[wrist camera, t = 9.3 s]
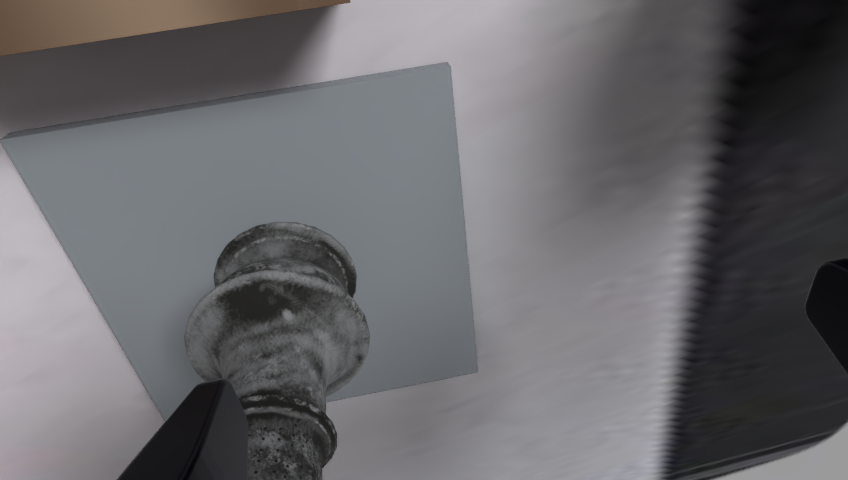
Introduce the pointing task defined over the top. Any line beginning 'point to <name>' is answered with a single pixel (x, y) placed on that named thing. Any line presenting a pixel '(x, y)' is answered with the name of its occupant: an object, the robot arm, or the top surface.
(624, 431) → the top surface
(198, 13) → the brown wooden u-shaped frame
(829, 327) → the robot arm
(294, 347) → the grey tall turned piece
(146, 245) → the slate mat
